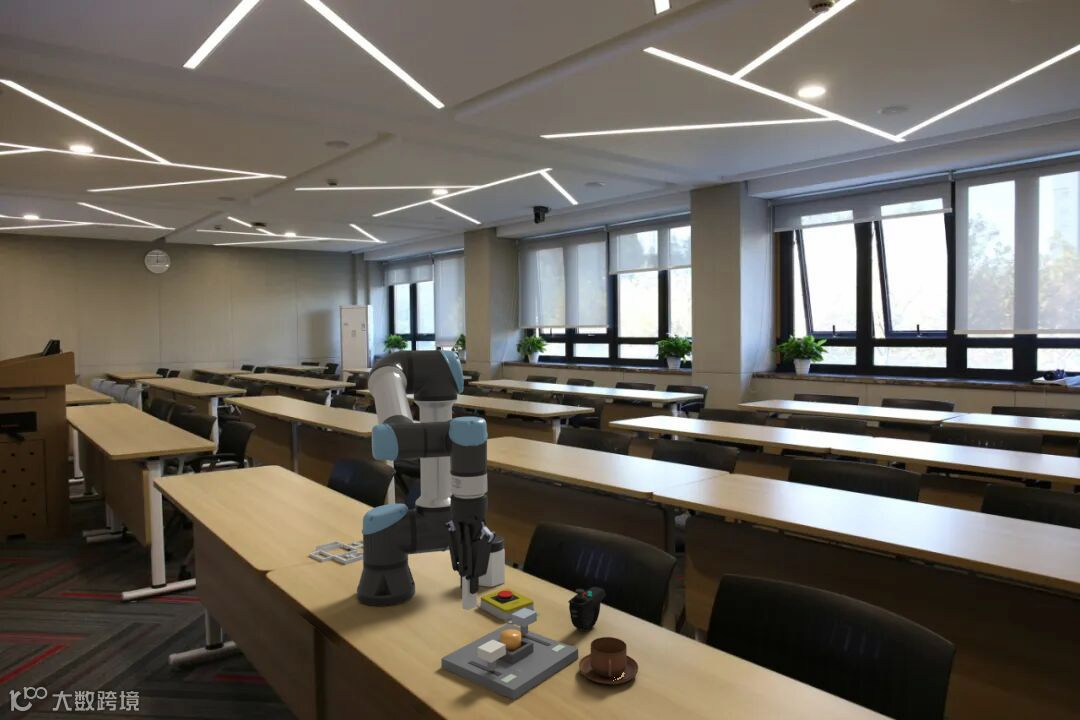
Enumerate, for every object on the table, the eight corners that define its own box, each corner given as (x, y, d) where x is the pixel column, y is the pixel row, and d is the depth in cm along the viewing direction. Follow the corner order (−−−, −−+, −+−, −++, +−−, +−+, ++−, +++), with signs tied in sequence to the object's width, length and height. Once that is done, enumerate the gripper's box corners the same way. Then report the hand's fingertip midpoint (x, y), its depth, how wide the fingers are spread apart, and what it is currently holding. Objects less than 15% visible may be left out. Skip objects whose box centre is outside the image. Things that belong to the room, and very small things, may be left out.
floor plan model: (286, 560, 210) (285, 554, 210) (357, 541, 228) (357, 535, 228) (317, 575, 197) (316, 568, 197) (389, 553, 215) (389, 547, 215)
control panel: (441, 667, 142) (441, 648, 142) (508, 632, 158) (508, 615, 158) (514, 700, 129) (513, 679, 129) (578, 657, 146) (578, 639, 146)
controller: (565, 634, 157) (565, 592, 156) (592, 615, 167) (592, 575, 167) (581, 639, 154) (581, 596, 154) (608, 620, 165) (608, 579, 164)
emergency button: (504, 581, 180) (541, 598, 168) (504, 597, 180) (541, 616, 168) (475, 590, 174) (511, 608, 162) (475, 607, 174) (511, 626, 162)
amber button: (495, 645, 143) (495, 634, 143) (509, 638, 147) (509, 627, 147) (511, 652, 141) (511, 640, 140) (525, 644, 144) (525, 633, 144)
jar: (468, 585, 187) (468, 542, 187) (480, 574, 195) (480, 533, 195) (499, 588, 185) (499, 545, 184) (509, 578, 192) (509, 536, 192)
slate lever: (511, 634, 151) (511, 614, 151) (524, 628, 155) (524, 607, 154) (524, 639, 149) (523, 618, 149) (536, 632, 152) (536, 611, 152)
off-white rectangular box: (477, 670, 136) (477, 647, 135) (492, 662, 139) (492, 639, 139) (491, 676, 133) (490, 652, 133) (505, 667, 137) (505, 644, 137)
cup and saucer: (648, 684, 135) (648, 654, 135) (591, 694, 132) (591, 663, 131) (623, 656, 147) (623, 628, 146) (571, 665, 143) (571, 636, 143)
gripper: (433, 492, 139) (434, 604, 141) (479, 503, 131) (480, 622, 133) (459, 485, 145) (460, 593, 147) (505, 495, 137) (505, 609, 139)
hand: (469, 607), depth 140 cm, fingers closed
